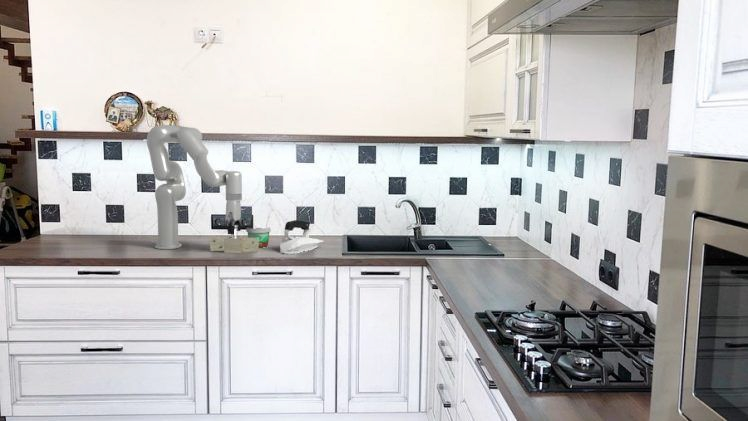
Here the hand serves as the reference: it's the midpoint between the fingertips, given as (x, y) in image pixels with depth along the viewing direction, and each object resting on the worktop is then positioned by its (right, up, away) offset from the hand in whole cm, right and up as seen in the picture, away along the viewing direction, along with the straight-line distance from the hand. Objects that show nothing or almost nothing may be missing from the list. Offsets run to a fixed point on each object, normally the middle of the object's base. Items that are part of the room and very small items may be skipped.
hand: (234, 232), depth 313 cm
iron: (+31, -9, +8) cm, 33 cm away
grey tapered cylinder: (0, -9, +1) cm, 9 cm away
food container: (+10, -8, +12) cm, 18 cm away
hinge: (0, -9, +1) cm, 9 cm away
